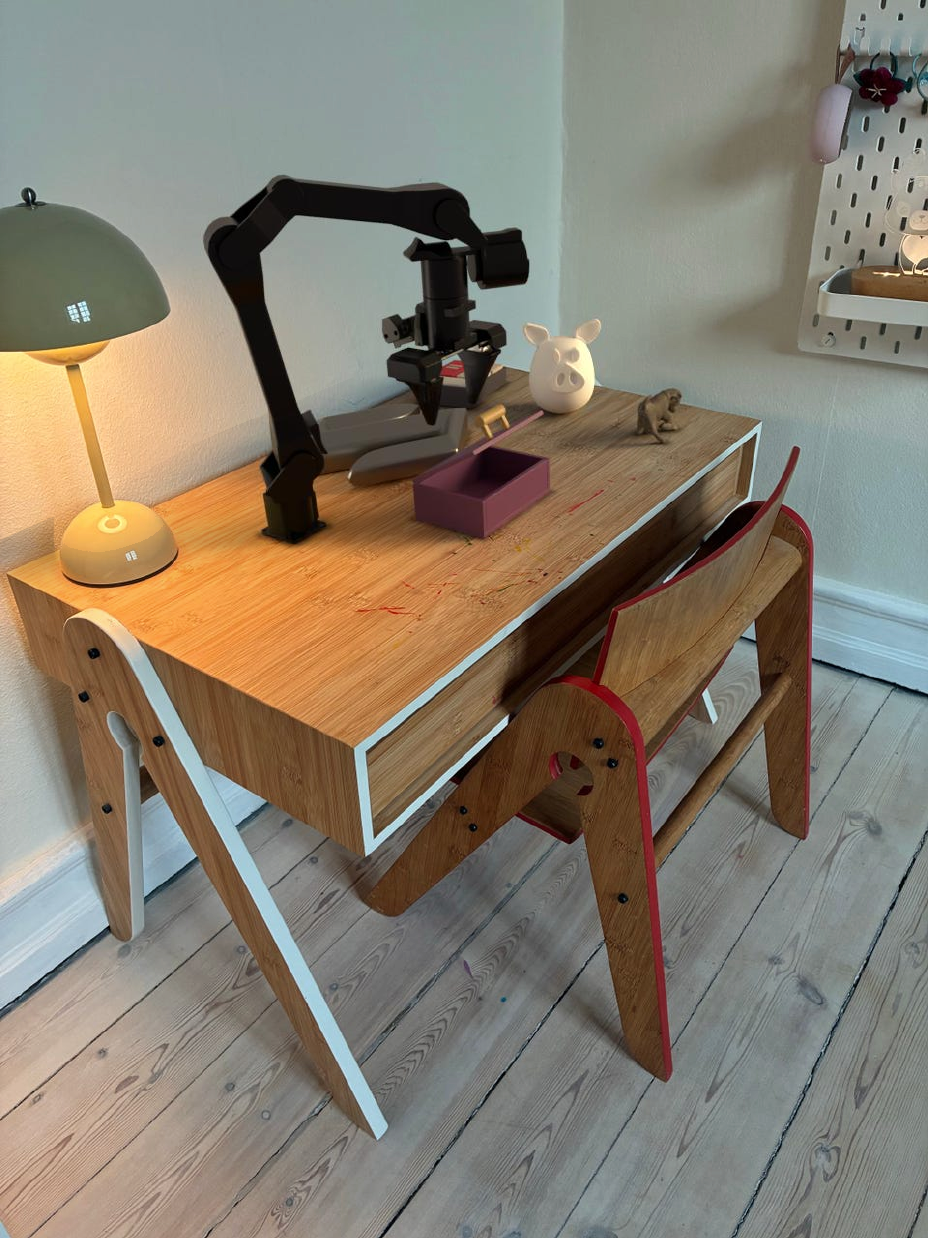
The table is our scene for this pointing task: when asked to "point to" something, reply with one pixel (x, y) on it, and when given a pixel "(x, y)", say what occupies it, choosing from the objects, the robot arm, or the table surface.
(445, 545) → the table surface
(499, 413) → the file box lid
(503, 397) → the table surface
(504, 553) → the table surface
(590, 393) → the piggy bank
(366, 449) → the emblem
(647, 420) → the brown monkey figurine
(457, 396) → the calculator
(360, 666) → the table surface
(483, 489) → the maroon open box
